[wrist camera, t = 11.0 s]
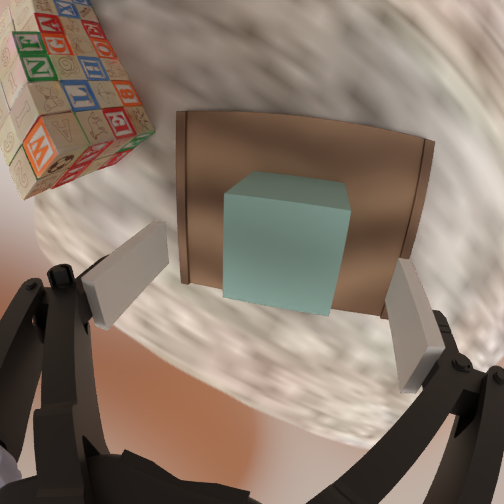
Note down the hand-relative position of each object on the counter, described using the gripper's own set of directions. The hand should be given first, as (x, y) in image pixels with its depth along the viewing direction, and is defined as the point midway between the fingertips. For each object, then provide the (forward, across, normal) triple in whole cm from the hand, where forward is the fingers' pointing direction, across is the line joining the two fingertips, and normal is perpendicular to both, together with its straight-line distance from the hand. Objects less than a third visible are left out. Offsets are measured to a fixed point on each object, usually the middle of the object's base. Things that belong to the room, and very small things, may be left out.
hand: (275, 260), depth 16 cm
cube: (+8, 0, -1) cm, 8 cm away
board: (+10, 0, -1) cm, 10 cm away
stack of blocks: (+11, -21, +13) cm, 27 cm away
